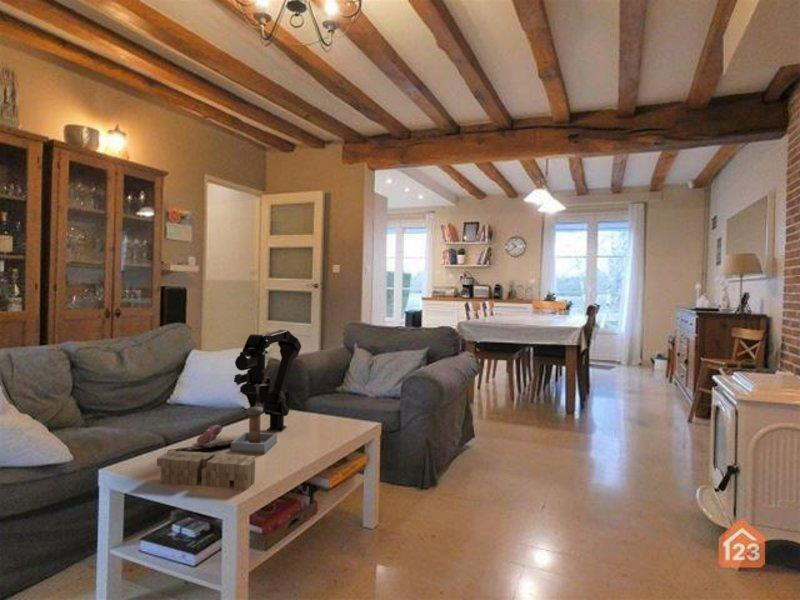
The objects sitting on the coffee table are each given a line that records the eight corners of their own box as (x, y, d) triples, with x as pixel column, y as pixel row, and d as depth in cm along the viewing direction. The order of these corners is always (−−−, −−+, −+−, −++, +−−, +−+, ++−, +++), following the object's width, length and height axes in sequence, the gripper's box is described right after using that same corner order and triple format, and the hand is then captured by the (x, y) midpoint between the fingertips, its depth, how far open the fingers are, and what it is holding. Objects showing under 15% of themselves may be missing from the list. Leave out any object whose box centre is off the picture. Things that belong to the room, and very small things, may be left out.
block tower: (258, 483, 150) (171, 473, 154) (259, 456, 150) (172, 447, 154) (246, 493, 142) (155, 483, 146) (248, 465, 142) (156, 455, 146)
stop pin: (256, 440, 183) (256, 405, 183) (265, 444, 180) (266, 408, 179) (243, 444, 179) (244, 408, 178) (253, 448, 176) (253, 411, 175)
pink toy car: (204, 448, 182) (212, 432, 181) (194, 442, 182) (202, 426, 182) (219, 440, 192) (226, 425, 191) (209, 434, 192) (217, 419, 191)
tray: (245, 441, 186) (245, 432, 186) (276, 442, 185) (277, 433, 185) (230, 452, 174) (230, 442, 174) (264, 454, 172) (264, 444, 172)
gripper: (247, 362, 198) (247, 399, 199) (226, 369, 180) (226, 411, 180) (273, 363, 197) (273, 401, 198) (255, 370, 179) (255, 412, 179)
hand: (257, 406), depth 189 cm, fingers open, 9 cm apart
